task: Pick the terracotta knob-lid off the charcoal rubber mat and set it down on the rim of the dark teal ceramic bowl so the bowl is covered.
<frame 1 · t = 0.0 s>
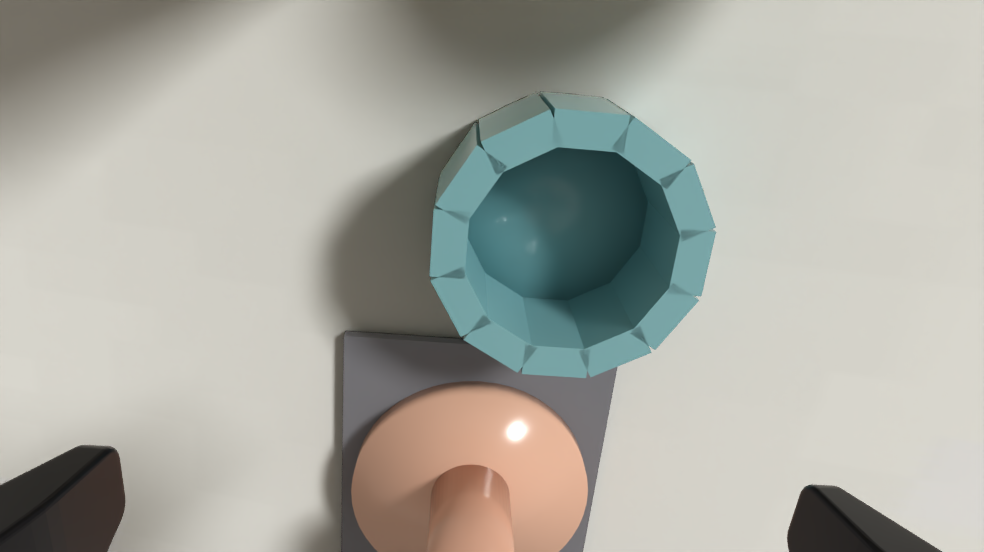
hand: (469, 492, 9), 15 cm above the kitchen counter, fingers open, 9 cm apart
mat: (470, 473, 27), on the kitchen counter
lid: (470, 479, 26), resting on mat
bowl: (554, 213, 23), on the kitchen counter
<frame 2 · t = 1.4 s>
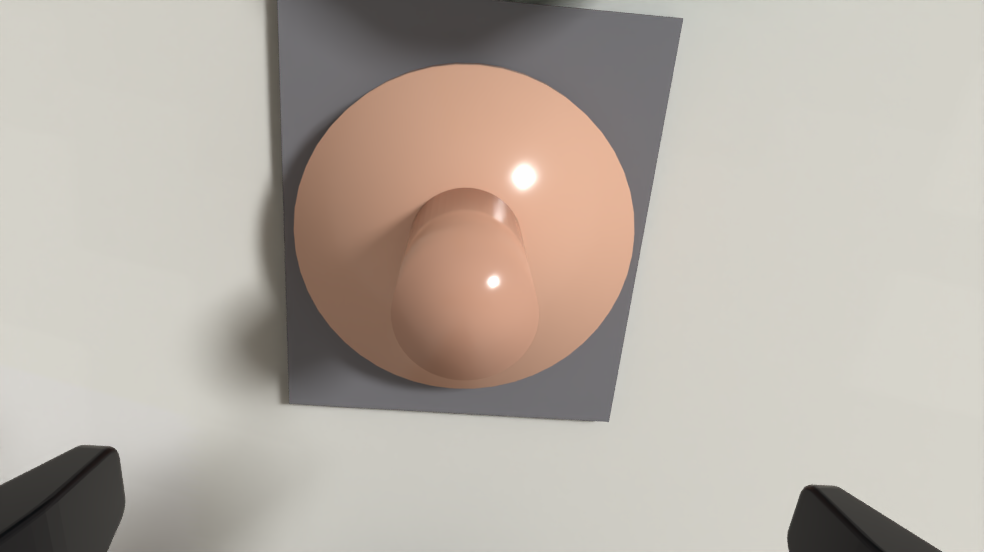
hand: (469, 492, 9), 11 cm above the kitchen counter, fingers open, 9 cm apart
mat: (465, 226, 19), on the kitchen counter
lid: (465, 230, 19), resting on mat
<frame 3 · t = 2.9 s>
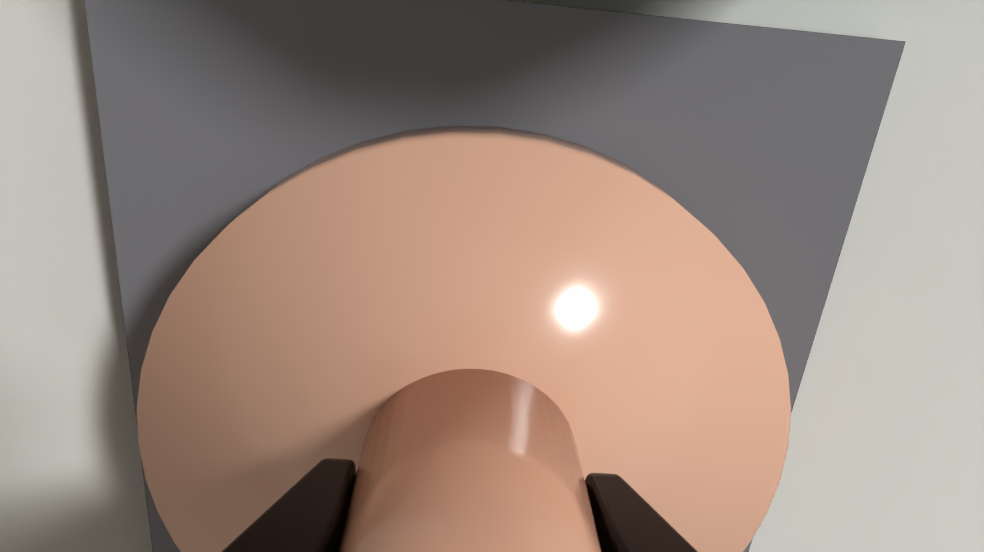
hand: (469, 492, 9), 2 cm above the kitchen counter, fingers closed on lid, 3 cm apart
mat: (469, 406, 11), on the kitchen counter
lid: (469, 421, 10), resting on mat, touching gripper
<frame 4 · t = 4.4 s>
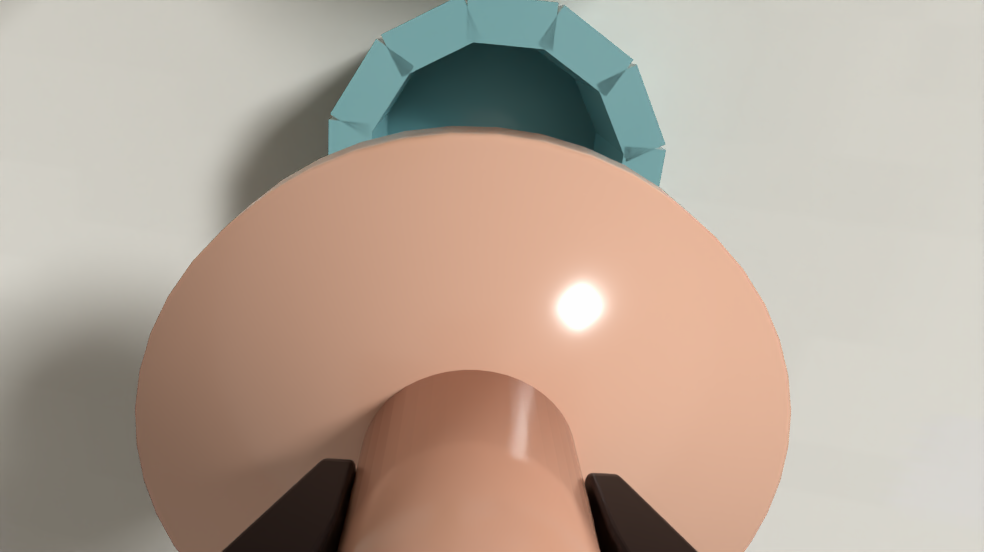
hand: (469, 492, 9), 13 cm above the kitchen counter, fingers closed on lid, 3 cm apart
lid: (468, 422, 10), point 11 cm above the kitchen counter, touching gripper
bowl: (490, 148, 20), on the kitchen counter
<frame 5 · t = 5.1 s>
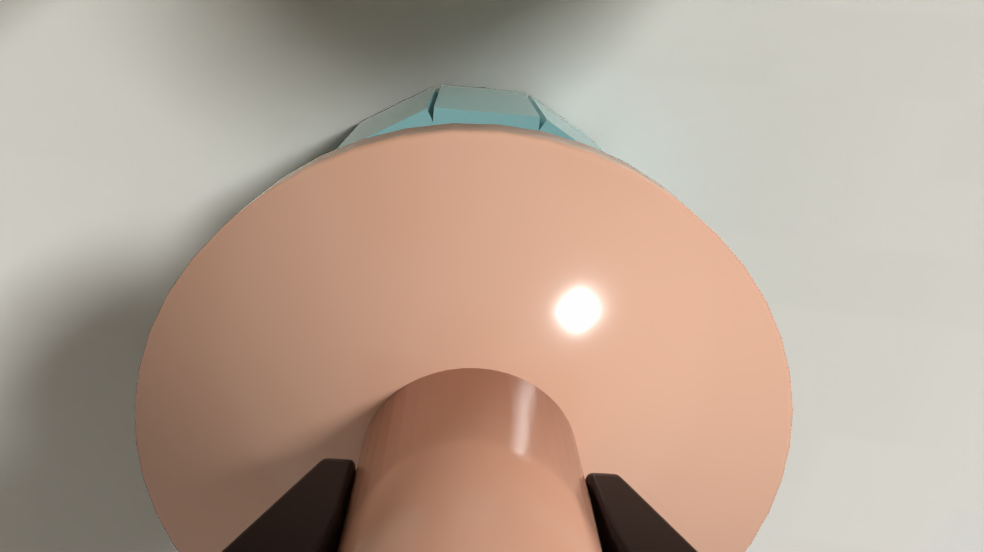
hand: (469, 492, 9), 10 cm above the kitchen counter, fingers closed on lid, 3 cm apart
lid: (469, 420, 10), point 8 cm above the kitchen counter, touching gripper
bowl: (469, 242, 18), on the kitchen counter
when the fingers open (7 cm above the kitchen counter, at t = 5.8 s): lid drops 1 cm, resting on bowl.
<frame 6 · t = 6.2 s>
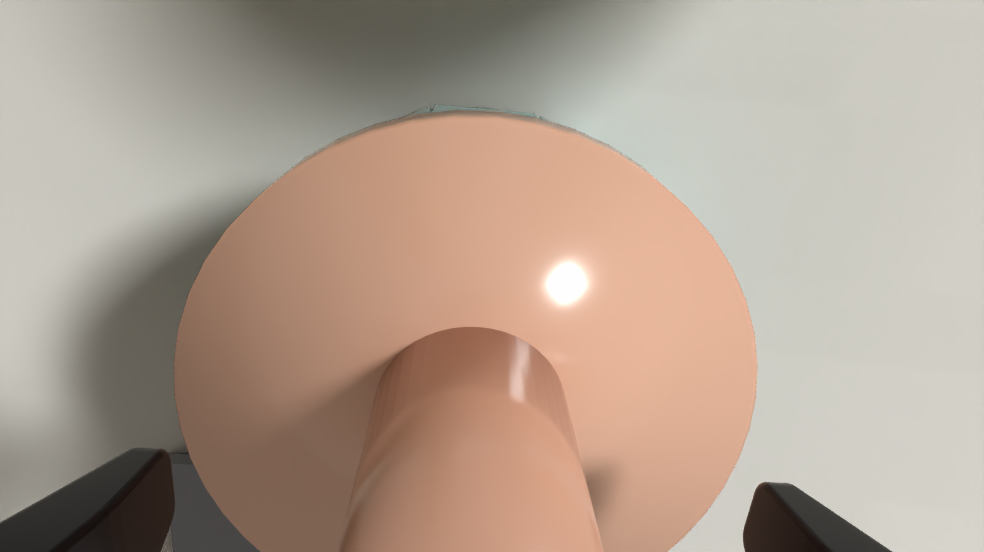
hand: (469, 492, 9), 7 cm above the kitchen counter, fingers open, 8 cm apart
lid: (469, 379, 11), point 4 cm above the kitchen counter, touching bowl
bowl: (469, 287, 15), on the kitchen counter
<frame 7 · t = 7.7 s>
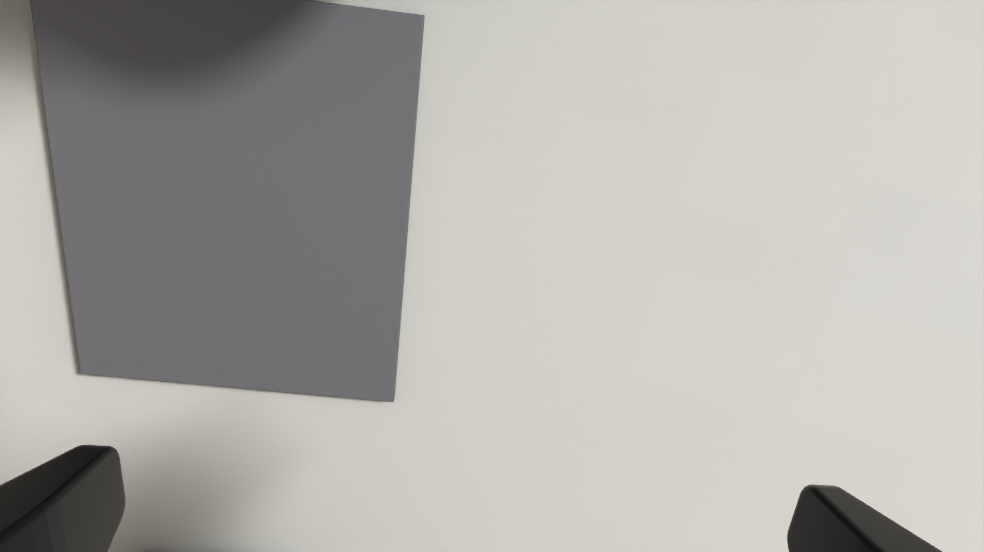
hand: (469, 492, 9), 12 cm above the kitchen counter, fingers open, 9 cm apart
mat: (239, 208, 20), on the kitchen counter
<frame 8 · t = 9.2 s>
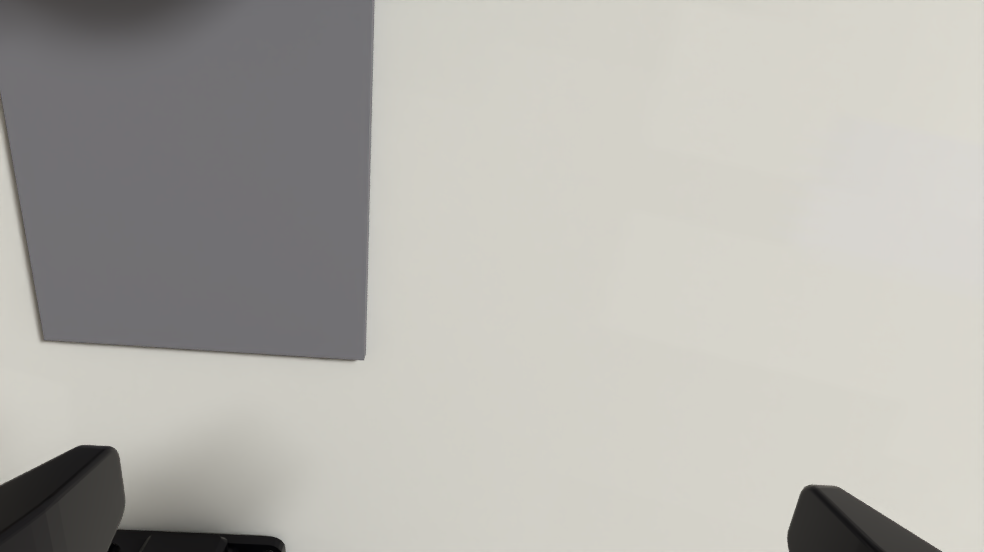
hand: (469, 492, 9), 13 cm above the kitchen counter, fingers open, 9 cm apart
mat: (197, 162, 19), on the kitchen counter
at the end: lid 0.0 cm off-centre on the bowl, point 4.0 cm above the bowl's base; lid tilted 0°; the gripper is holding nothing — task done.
